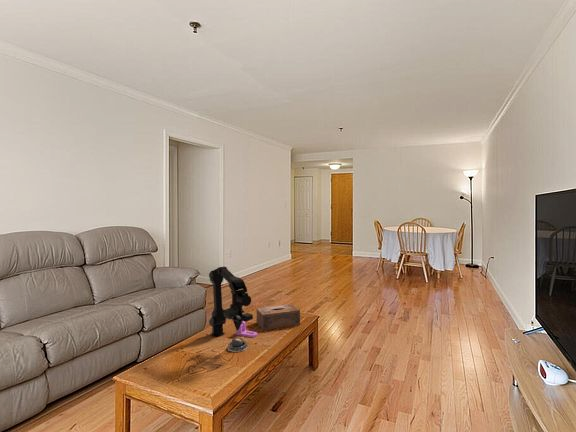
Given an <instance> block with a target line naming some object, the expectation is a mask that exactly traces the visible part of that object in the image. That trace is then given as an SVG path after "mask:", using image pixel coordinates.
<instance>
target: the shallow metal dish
mask: <svg viewBox="0 0 576 432" xmlns="http://www.w3.org/2000/svg"><path fill="white" fill-rule="evenodd" d="M248 348H249V345H248V342H247V341H246V340H243V346H240V347H233V346H232V341H230V342H229V343H228V346H227V350H228V351H230V352H233V353H239V352H244V351H246V350H247V349H248Z"/></svg>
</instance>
